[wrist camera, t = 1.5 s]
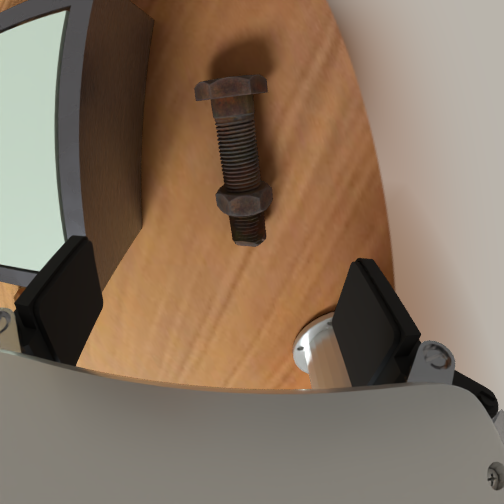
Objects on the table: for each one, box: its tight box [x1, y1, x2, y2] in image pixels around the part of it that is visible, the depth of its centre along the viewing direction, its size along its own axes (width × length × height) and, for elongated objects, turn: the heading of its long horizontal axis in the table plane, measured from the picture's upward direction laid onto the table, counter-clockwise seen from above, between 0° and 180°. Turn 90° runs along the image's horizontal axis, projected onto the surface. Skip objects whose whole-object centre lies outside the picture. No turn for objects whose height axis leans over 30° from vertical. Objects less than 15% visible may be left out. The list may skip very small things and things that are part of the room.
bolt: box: [194, 75, 273, 247], centre depth 25 cm, size 6×5×15 cm
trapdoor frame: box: [0, 0, 154, 293], centre depth 18 cm, size 16×21×13 cm
